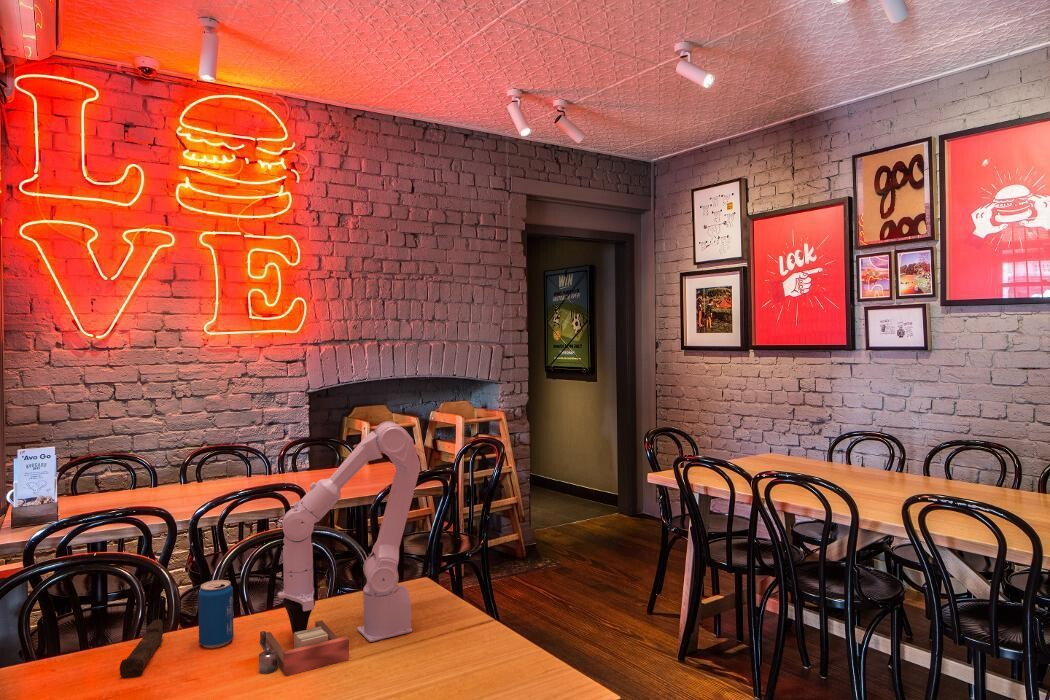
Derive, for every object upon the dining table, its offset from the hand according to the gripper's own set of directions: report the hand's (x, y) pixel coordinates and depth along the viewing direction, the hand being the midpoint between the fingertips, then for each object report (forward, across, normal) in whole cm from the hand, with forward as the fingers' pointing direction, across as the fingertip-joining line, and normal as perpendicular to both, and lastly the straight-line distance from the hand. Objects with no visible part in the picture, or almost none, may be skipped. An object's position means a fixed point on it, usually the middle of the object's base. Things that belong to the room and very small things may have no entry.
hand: (299, 635), depth 142 cm
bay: (+2, +4, 0) cm, 4 cm away
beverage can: (+2, -10, -14) cm, 17 cm away
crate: (+2, +9, 0) cm, 9 cm away
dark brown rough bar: (+2, -11, -27) cm, 29 cm away
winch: (+2, +7, -8) cm, 11 cm away
